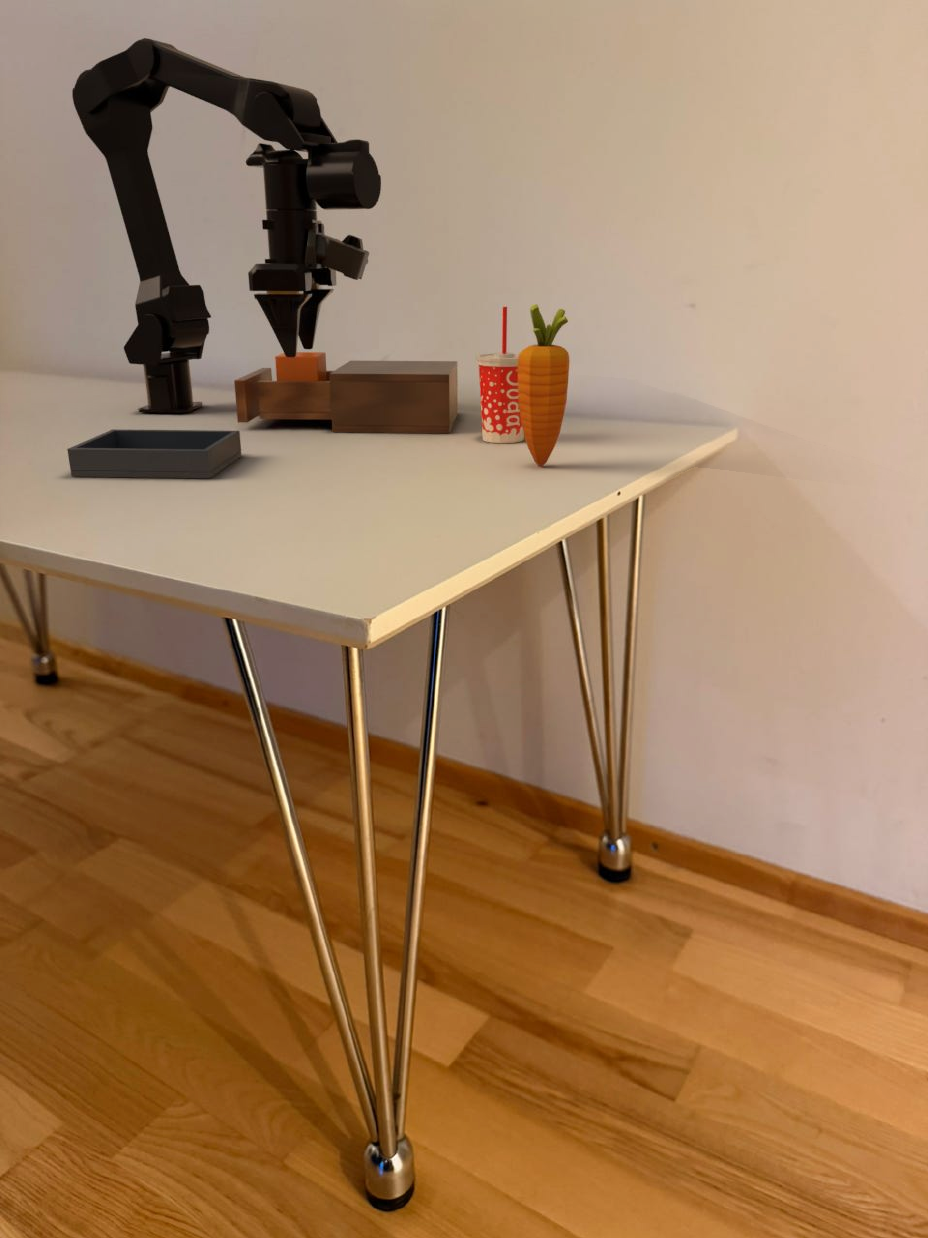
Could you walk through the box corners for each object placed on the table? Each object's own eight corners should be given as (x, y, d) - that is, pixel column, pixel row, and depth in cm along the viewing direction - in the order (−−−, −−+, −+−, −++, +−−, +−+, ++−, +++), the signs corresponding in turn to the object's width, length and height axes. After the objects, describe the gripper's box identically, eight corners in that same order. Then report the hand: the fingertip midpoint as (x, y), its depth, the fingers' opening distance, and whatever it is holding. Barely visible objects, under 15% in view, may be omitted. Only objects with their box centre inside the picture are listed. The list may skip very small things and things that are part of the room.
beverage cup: (482, 445, 102) (483, 308, 97) (470, 435, 108) (470, 305, 103) (537, 443, 103) (540, 307, 98) (522, 433, 109) (525, 304, 104)
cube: (288, 401, 118) (284, 351, 116) (328, 402, 118) (325, 352, 115) (278, 408, 113) (274, 356, 111) (319, 408, 113) (317, 356, 111)
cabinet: (332, 432, 110) (329, 373, 107) (352, 413, 122) (350, 360, 120) (449, 433, 109) (449, 374, 106) (457, 414, 121) (457, 361, 119)
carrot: (558, 460, 95) (564, 302, 89) (572, 470, 90) (579, 305, 85) (510, 462, 94) (512, 302, 89) (521, 472, 90) (525, 305, 84)
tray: (115, 454, 98) (112, 429, 97) (241, 456, 97) (239, 430, 96) (71, 476, 88) (66, 448, 87) (210, 478, 87) (208, 450, 86)
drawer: (227, 422, 111) (223, 380, 109) (255, 405, 122) (252, 367, 120) (343, 423, 110) (341, 381, 108) (361, 406, 121) (359, 368, 120)
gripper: (347, 207, 98) (353, 362, 104) (374, 213, 116) (378, 345, 121) (241, 207, 99) (253, 361, 105) (284, 213, 116) (292, 345, 122)
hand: (300, 352), depth 113 cm, fingers open, 9 cm apart
